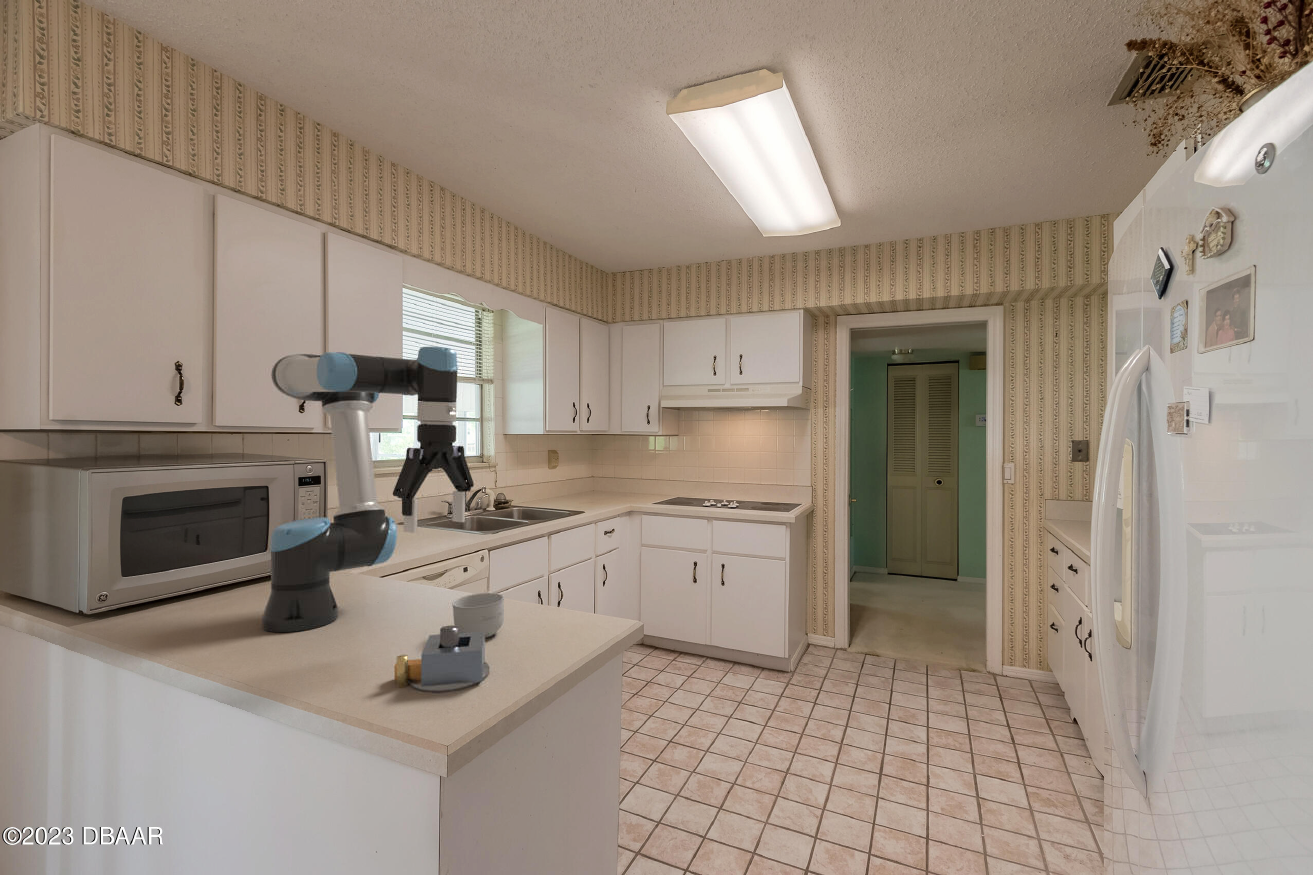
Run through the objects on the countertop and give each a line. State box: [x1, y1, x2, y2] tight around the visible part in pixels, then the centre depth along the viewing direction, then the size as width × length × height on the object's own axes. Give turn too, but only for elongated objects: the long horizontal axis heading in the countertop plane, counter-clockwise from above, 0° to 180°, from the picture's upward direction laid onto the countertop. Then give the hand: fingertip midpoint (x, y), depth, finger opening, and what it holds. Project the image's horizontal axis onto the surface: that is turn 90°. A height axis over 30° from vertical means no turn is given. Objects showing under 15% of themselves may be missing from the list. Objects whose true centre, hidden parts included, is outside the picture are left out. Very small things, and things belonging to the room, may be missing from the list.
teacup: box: [451, 590, 505, 639], centre depth 131 cm, size 14×11×8 cm
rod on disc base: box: [408, 625, 490, 693], centre depth 108 cm, size 14×14×9 cm
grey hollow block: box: [394, 631, 486, 687], centre depth 107 cm, size 15×10×6 cm, turn 103°
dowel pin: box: [396, 654, 409, 688], centre depth 104 cm, size 2×2×5 cm
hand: (435, 526), depth 122 cm, fingers open, 13 cm apart
